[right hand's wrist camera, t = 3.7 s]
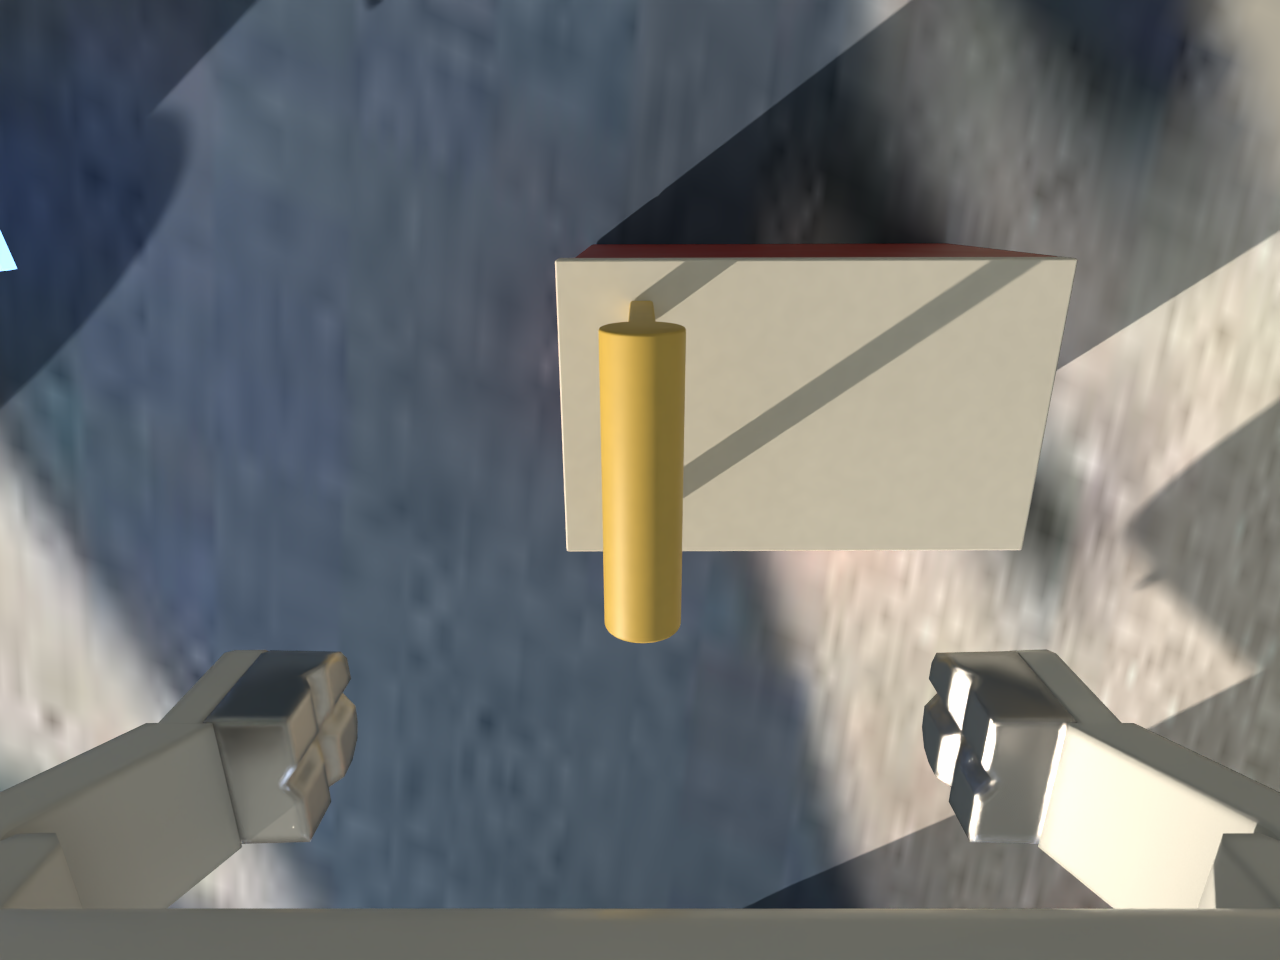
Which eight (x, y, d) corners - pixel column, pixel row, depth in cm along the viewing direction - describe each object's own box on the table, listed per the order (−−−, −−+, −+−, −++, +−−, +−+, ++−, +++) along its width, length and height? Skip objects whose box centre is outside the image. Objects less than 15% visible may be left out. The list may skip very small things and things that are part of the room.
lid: (569, 540, 26) (539, 680, 18) (558, 257, 23) (516, 283, 15) (1009, 539, 26) (1165, 678, 18) (1062, 256, 23) (1279, 281, 15)
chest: (596, 459, 35) (582, 540, 26) (591, 244, 31) (573, 257, 23) (918, 458, 35) (1008, 538, 26) (947, 243, 31) (1061, 256, 23)
